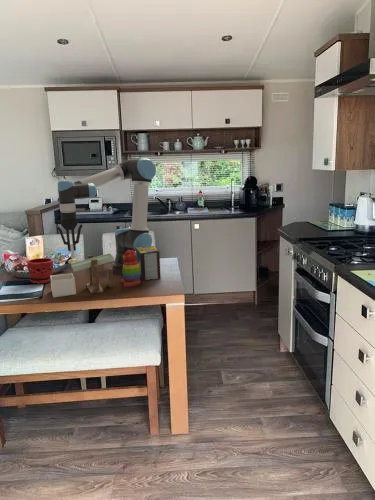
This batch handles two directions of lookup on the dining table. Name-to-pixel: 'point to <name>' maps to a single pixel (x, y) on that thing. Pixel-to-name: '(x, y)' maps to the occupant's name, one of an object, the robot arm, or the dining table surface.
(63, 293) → the grey box
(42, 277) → the plant pot
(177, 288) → the dining table surface
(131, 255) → the stacking bear
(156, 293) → the dining table surface
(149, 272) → the protein box
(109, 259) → the lever
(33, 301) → the dining table surface
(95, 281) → the stand
